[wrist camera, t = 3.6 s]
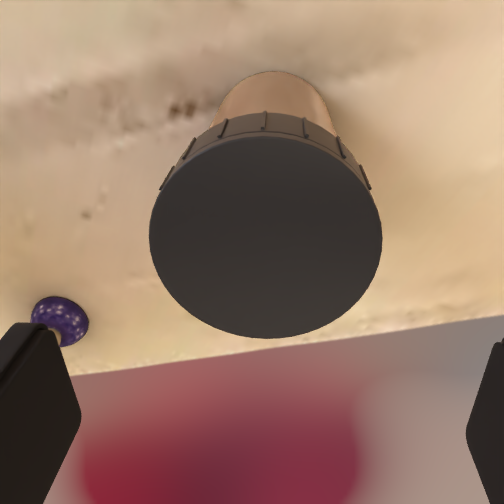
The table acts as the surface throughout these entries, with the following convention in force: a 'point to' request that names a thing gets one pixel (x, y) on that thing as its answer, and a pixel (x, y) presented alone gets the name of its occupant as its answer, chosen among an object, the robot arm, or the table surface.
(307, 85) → the jar
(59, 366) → the robot arm
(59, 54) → the table surface
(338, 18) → the table surface
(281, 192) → the cap
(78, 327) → the toy lamp
